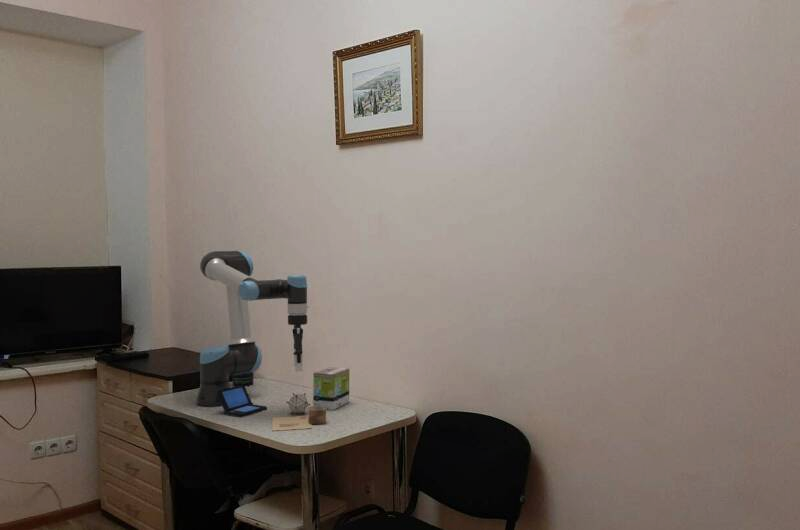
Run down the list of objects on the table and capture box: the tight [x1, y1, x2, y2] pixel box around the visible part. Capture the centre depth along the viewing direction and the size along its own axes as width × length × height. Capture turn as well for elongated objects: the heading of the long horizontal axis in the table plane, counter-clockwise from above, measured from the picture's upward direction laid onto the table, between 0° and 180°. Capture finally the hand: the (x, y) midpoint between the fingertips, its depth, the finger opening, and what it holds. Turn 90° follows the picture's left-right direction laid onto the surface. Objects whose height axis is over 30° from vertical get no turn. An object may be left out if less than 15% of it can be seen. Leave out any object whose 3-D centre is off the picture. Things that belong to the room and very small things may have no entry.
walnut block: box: [308, 406, 327, 425], centre depth 244 cm, size 6×6×5 cm
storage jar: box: [232, 372, 254, 387], centre depth 315 cm, size 10×10×15 cm
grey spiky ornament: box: [285, 392, 311, 415], centre depth 257 cm, size 9×8×10 cm
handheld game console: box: [217, 385, 268, 418], centre depth 262 cm, size 16×13×9 cm
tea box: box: [312, 366, 350, 411], centre depth 271 cm, size 15×10×15 cm, turn 161°
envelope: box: [271, 415, 313, 432], centre depth 242 cm, size 14×18×1 cm
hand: (298, 368), depth 257 cm, fingers open, 13 cm apart
